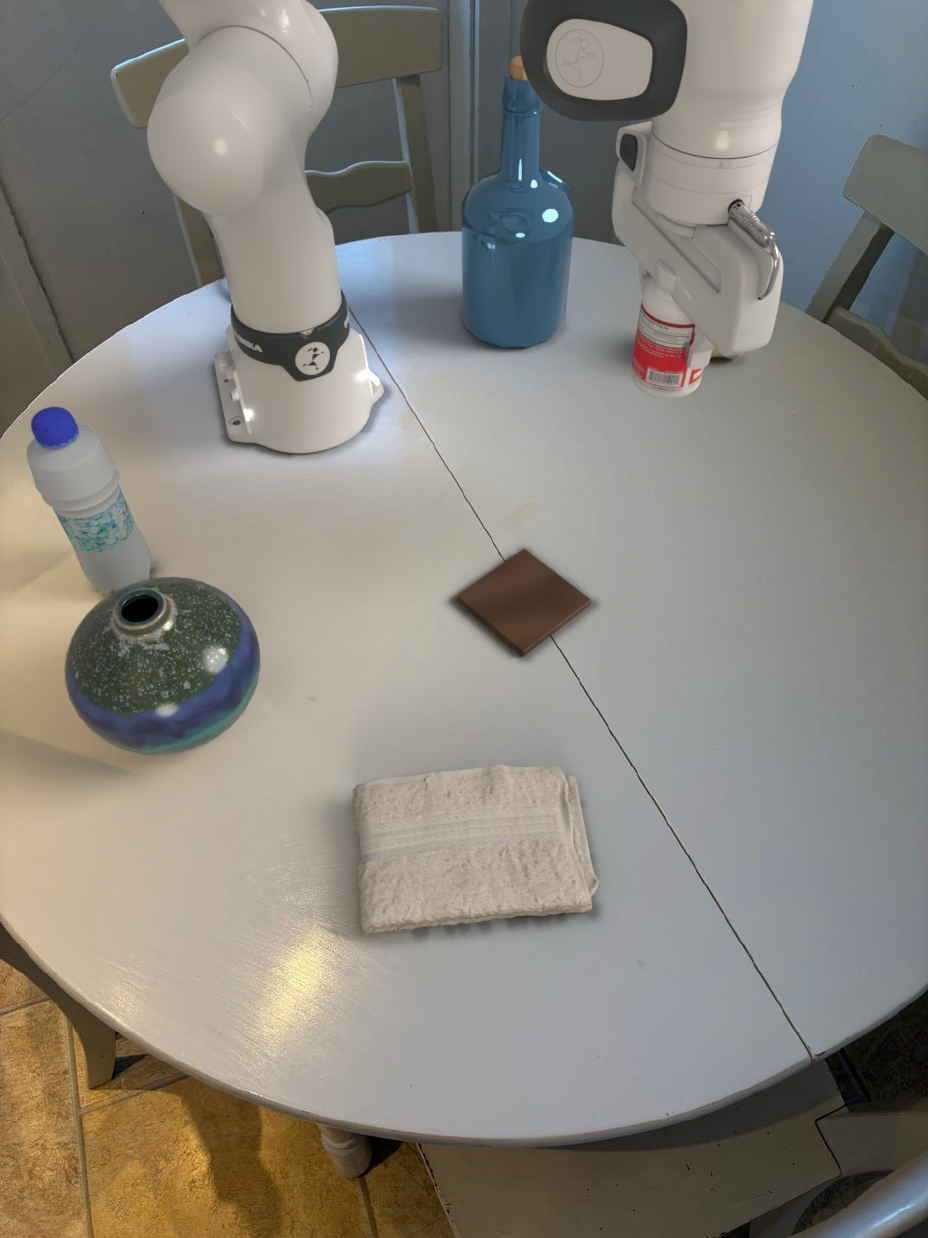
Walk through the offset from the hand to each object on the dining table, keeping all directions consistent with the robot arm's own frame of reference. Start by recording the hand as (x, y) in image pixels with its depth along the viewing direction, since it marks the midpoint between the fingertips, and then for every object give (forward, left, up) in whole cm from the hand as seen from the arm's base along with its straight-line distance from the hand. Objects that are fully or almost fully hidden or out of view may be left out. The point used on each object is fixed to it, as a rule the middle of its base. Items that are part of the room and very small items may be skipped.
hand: (672, 338), depth 75 cm
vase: (+1, -48, -21) cm, 53 cm away
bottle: (-16, -49, -21) cm, 56 cm away
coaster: (+5, -16, -21) cm, 27 cm away
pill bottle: (0, 0, -4) cm, 4 cm away
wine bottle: (-36, +6, -21) cm, 43 cm away
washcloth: (+25, -32, -21) cm, 46 cm away
